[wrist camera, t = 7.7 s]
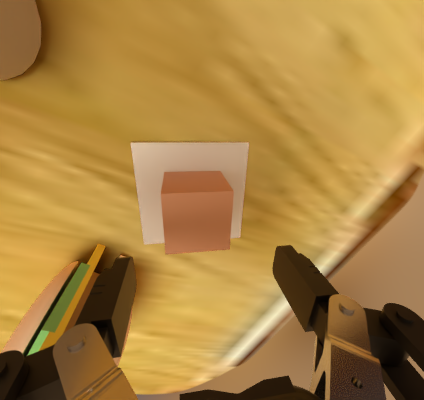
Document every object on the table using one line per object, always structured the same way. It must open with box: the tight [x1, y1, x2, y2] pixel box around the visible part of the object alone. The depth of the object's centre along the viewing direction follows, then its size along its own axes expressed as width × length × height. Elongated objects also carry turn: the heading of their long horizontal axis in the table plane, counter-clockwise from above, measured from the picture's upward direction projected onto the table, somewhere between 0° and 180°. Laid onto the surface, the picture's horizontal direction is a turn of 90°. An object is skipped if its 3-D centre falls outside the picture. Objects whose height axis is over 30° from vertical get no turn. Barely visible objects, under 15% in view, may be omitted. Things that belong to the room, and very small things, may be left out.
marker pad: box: [131, 142, 249, 244], centre depth 20 cm, size 10×10×1 cm
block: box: [161, 171, 234, 254], centre depth 18 cm, size 5×5×5 cm
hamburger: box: [1, 244, 132, 366], centre depth 18 cm, size 12×8×12 cm
